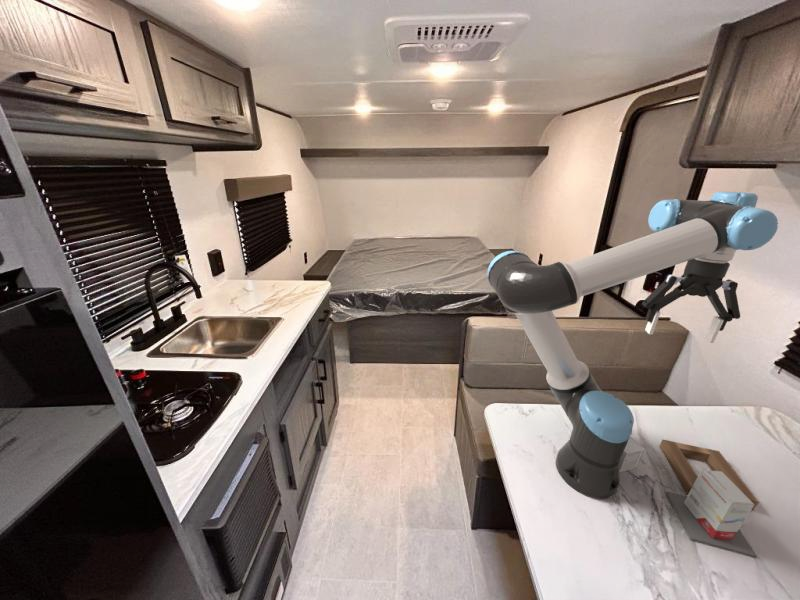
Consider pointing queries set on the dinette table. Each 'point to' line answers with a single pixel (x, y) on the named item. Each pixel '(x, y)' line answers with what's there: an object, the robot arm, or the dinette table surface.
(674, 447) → the wooden holder frame
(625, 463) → the product box
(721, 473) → the ink box
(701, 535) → the mat
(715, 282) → the robot arm
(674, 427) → the dinette table surface
